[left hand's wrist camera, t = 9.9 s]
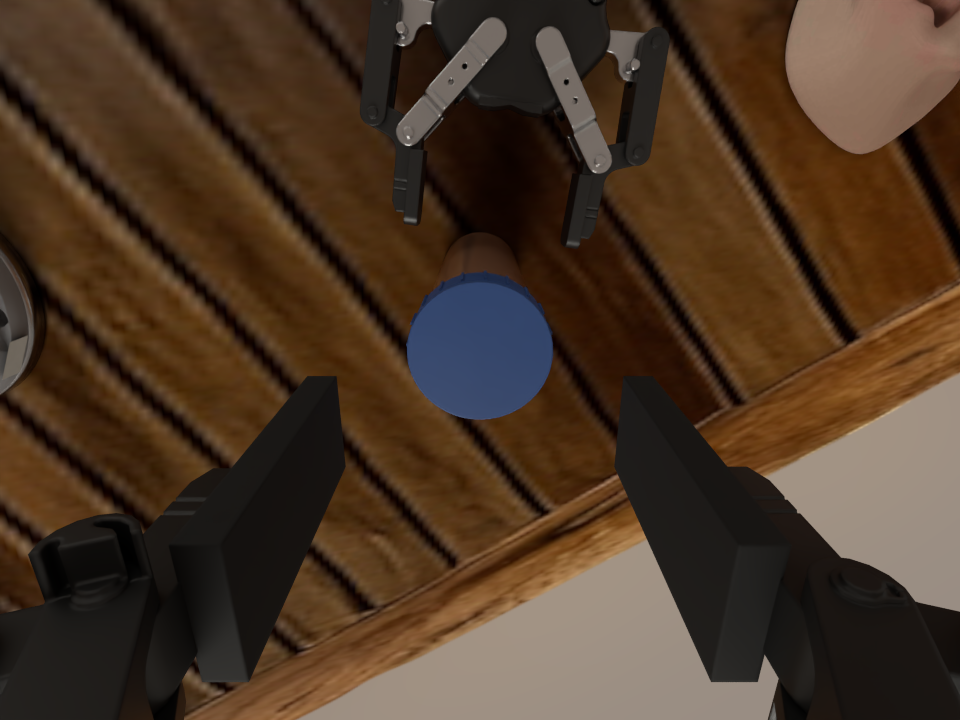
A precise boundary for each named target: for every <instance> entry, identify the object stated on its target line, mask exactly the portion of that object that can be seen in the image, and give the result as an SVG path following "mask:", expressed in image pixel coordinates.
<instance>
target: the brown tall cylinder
mask: <svg viewBox="0 0 960 720" xmlns="http://www.w3.org/2000/svg"><path fill="white" fill-rule="evenodd" d="M484 270H485V271H487V273H492V274H497V275H500V276H504V277H505V276H506V275H507V276H509V279H511V280H513V281H515V282H516V283H518V284H519V285H521V286H522V287H523V288H524V287H526V284H525V282H524V279H523V276H522V274H521V271H520V269H519V266H518V264H517V261H516V258H515V256H514V254H513V252H512V250H511V248H510V247H509V246H508V245H507V244H506V243H505V242H504V241H503V240H502V239H500V238H499V237H497V236H495V235H492V234H489V233H484V232H477V233H471V234H468V235H465V236H463V237H461V238H460V239H458V240H457V241H456V242H455V243H454V244H453V245H452V246H451V247H450V248H449V250H448V252H447V254H446V256H445V258H444V261H443V264H442V266H441V269H440V271H439V274H438V276H437V279H436V282H435V284H434V287H433V289H432V291H433V290H434V289H435V288H437V287H438V286H439V285H440V283H441V281H444V282H446V281H447V280H449V279H451V278H454V277H456V276H459V275H461V273H462V272H464V274H467V273H476V272H483V273H484Z"/></svg>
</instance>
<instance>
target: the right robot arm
mask: <svg viewBox="0 0 960 720" xmlns="http://www.w3.org/2000/svg"><path fill="white" fill-rule="evenodd" d="M606 2H607V0H435V2H433V1H429V0H372V5H371V14H370V23H369V33H368V42H367V51H366V60H365V69H364V78H363V87H362V96H361V105H360V115H361V118H362V120H363V121H364V122H365V123H366V124H368V125H370V126H372V127H374V128H376V129H377V130H379V131H381V132H383V133H385V134H386V135H388V136H389V137H390V138H391V139H392V140H393V141H394V143H395V146H396V160H395V174H394V187H393V188H394V189H393V200H392V201H393V204H394V207H395V211H399V212H404V224H408V225H416V226H418V225H419V224H420V221H421V214H422V204H423V193H424V183H425V172H426V162H427V151H424V150H423V149H424V142H425V141H426V140H427V138H428V137H429V136H430V135H431V134H432V133H433V132H434V131H435V129H436V128H437V127H438V126H439V125H440V124H441V123H442V122H443V121H444V120H445V119H446V118H447V117H448V116H449V115H450V114H451V113H452V112H453V111H454V110H455V109H456V107H457V106H458V105H459V104H460V103H461V102H462V101H463V100H464V98H465V97H466V98H467V99H468V100H469V101H470V102H471V103H472V104H474V105H475V106H477V107H478V109H483V110H489V111H497V110H504V109H510V110H512V111H514V112H516V113H519V114H521V115H523V116H529V117H536V118H538V117H539V116H543V115H546V114H548V113H550V112H553V114H554V116H555V119H556V121H557V123H558V125H559V127H560V129H561V131H562V133H563V134H564V136H565V137H566V139H567V141H568V143H569V145H570V147H571V149H572V151H573V153H574V155H575V158H576V160H577V162H578V164H579V167H578V172H577V174H574V173H573V174H572V179H571V184H570V190H569V195H568V200H567V206H566V211H565V217H564V222H563V227H562V233H561V244H562V245H563V246H564V247H569V248H576V249H578V247H579V244H580V240H581V238H587V239H589V238H590V236H591V234H592V233H593V231H594V229H595V225H596V220H597V215H598V209H599V205H600V200H601V195H602V191H603V186H604V182H605V179H606V177H607V176H608V175H609V174H610V173H611V172H612V171H614V170H617V169H622V168H626V167H630V166H639V165H642V164H644V163H645V162H646V161H647V160H648V158H649V156H650V152H651V146H652V140H653V135H654V129H655V123H656V117H657V112H658V106H659V100H660V94H661V88H662V83H663V77H664V71H665V65H666V60H667V54H668V48H669V42H670V38H669V34H668V32H667V31H666V30H665V29H664V28H661V27H655V28H652V29H651V30H649V31H648V32H646V33H638V32H627V31H615V30H610V28H609V25H608V21H607V15H606ZM427 28H431V29H433V31H434V35H435V37H436V39H437V41H438V43H439V45H440V47H441V49H442V51H443V53H444V55H445V57H446V60H447V62H448V65H447V66H446V67H445V68H444V69H443V71H442V72H441V73H440V74H439V75H438V76H437V77H436V79H435V80H434V81H433V82H432V83H431V84H430V86H429V87H428V88H427V89H426V91H425V93H424V94H423V96H422V97H421V98H420V100H419V101H418V102H417V103H416V104H415V105H414V107H413V108H412V109H411V110H410V111H409V112H408V113H407V115H406V116H405V115H403V114H401V113H400V112H398V111H396V110H394V105H395V97H396V89H397V82H398V74H399V66H400V59H401V51H402V49H403V50H408V49H411V48H412V47H413V46H414V45H415V44H416V42H417V38H418V36H419V34H420V33H421V32H422V31H423V30H425V29H427ZM604 56H607V57H609V58H610V59H611V60H612V62H613V64H614V75H615V78H616V79H617V81H619V82H620V83H622V84H625V85H624V92H623V98H622V105H621V111H620V118H619V125H618V131H617V138H616V144H612V145H608V146H607V145H606V142H605V140H604V138H603V136H602V133H601V131H600V129H599V127H598V124H597V121H596V115H595V112H594V110H593V107H592V105H591V103H590V101H589V98H588V96H587V94H586V92H585V89H584V87H583V85H582V83H581V82H582V80H583V79H584V78H585V77H586V76H587V75H588V74H589V73H590V72H591V71H592V69H593V68H594V67H595V66H596V65H597V64H598V63H599V62H600V61H601V60H602V58H603V57H604Z"/></svg>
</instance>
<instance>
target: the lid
mask: <svg viewBox="0 0 960 720" xmlns="http://www.w3.org/2000/svg"><path fill="white" fill-rule="evenodd" d="M543 314H545V313H544V311H543V308H542V306H541V304H540V303H537V302H536V300H535V299H534V298H533V296H532V295H531V294H530V293H529V291H528V289H527V287H524V288H523V287H522V286H521V285H519V284H518V283H516V282H515V281H513V280H511V279H509V276H507V275H506V276H505V277H504V276H500V275H497V274H492V273H487V271H485V270H484V273H483V272H476V273H467V274H464V272H462V273H461V275H459V276H456V277H454V278H451V279H449V280H447V281H446V282H444V281H441V283H440V285H439V286H438V287H437V288H435V289H434V290H433V291H432V292H431V293H430V294H429V295H426V296H425V297H424V299H423V302H422V304H421V307H420V308H419V311H418V313H415V314H414V317H413V319H412V321H411V324H410V325H412V327H411V330H410V333H409V337H408V341H407V344H406V346H407V357H408V364H409V368H410V371H411V374H412V376H413V378H414V381H415V382H416V384H417V386H418V387H419V389H420V390H421V391H422V393H423V394H424V395H425V396H426V397H427V398H428V399H429V400H430V401H431V402H432V403H434V404H435V405H436V406H438V407H439V408H441V409H443V410H444V411H446V412H448V413H451V414H453V415H456V416H460V417H463V418H469V419H492V418H496V417H501V416H504V415H507V414H509V413H511V412H514V411H516V410H518V409H519V408H521V407H522V406H524V405H525V404H526V403H528V402H529V401H530V400H531V399H532V398H533V397H534V396H535V395H536V394H537V393H538V391H539V390H540V389H541V387H542V386H543V384H544V382H545V380H546V379H547V376H548V374H549V371H550V368H551V363H552V357H553V343H552V338H551V335H552V331H551V329H550V326H549V324H548V322H546V320H545V317H544V315H543Z"/></svg>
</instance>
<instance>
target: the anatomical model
mask: <svg viewBox="0 0 960 720" xmlns="http://www.w3.org/2000/svg"><path fill="white" fill-rule="evenodd" d="M785 63H786V72H787V76H788V81H789V83H790V86H791V89H792V91H793V93H794V95H795V97H796V99H797V101H798V103H799V104H800V106H801V107H802V109H803V110H804V112H805V113H806V115H807V116H808V117H809V118H810V119H811V121H812V122H813V123H814V124H815V125H816V126H817V127H818V128H819V129H820V130H821V131H822V132H823V133H824V134H825V135H826V136H827V137H828V138H829V139H830V140H831V141H833V142H834V143H835V144H836V145H838V146H839V147H841V148H842V149H844V150H846V151H848V152H851V153H855V154H864V153H868V152H871V151H874V150H876V149H878V148H880V147H882V146H884V145H885V144H887V143H888V142H890V141H892V140H893V139H894V138H896V137H897V136H899V135H900V134H901V133H903V132H904V131H905V130H907V129H908V128H909V127H911V126H912V125H913V124H915V123H916V122H917V121H919V120H920V119H921V118H922V117H924V116H925V115H926V114H927V113H928V112H929V111H930V110H931V109H932V108H933V107H935V106H936V105H937V104H938V103H939V102H940V101H941V100H942V99H943V98H944V97H945V96H946V95H947V94H948V93H949V92H950V91H951V90H952V89H953V87H954V86H955V85H956V83H957V82H958V81H959V79H960V0H798V3H797V6H796V9H795V12H794V15H793V19H792V22H791V26H790V30H789V34H788V39H787V44H786V54H785Z"/></svg>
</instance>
